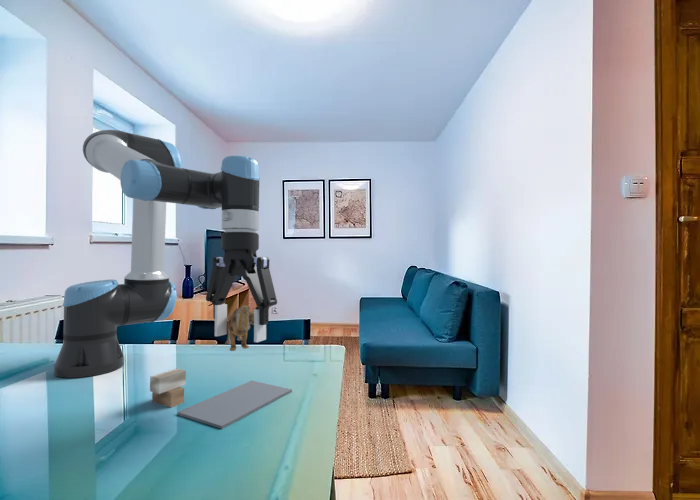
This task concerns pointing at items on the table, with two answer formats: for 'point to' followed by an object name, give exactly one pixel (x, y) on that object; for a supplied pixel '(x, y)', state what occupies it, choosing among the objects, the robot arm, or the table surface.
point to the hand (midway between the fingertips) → (239, 337)
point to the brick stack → (168, 387)
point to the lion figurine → (239, 326)
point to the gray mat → (234, 404)
